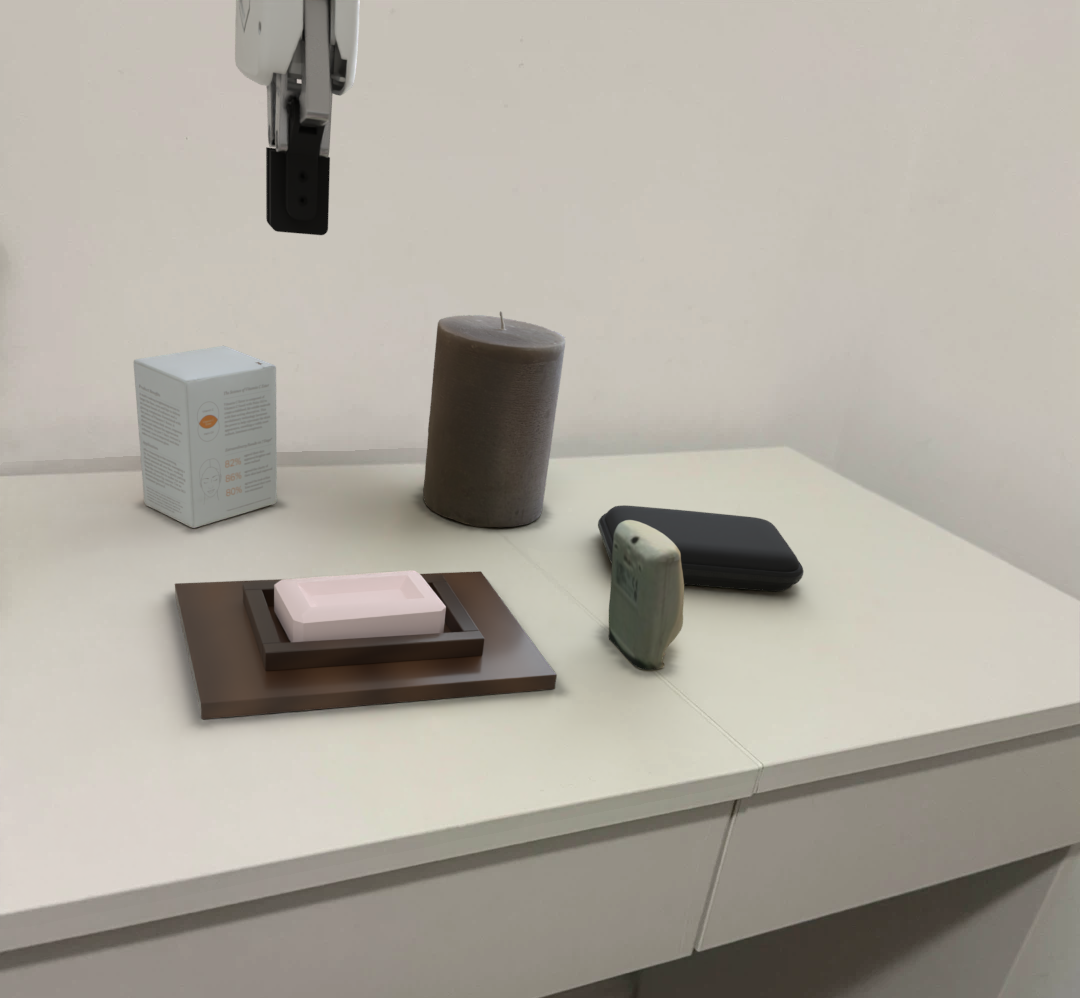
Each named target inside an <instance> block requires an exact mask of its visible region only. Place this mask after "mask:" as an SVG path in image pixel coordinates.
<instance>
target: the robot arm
mask: <svg viewBox="0 0 1080 998" xmlns="http://www.w3.org/2000/svg"><path fill="white" fill-rule="evenodd" d="M360 3H361V0H235V27H234V29H235V30H234V31H235V32H234V33H235V35H234V37H235V38H234V43H235V44H234V62H235V66H236V68H237V70H239V71H240V73H241V74H242V75H243V76H244V77H245V78H247V79H249V80H250V81H252V82H254V83H256V84H258V85H260V86H264V87H265V86H266V108H267V109H266V111H267V113H266V114H267V115H266V117H267V143H268V147H266V148H265V157H266V158H265V163H266V164H265V184H266V185H265V186H266V187H265V195H266V196H265V198H266V199H265V202H266V203H265V205H266V206H265V208H266V209H265V211H266V212H265V213H266V215H265V217H266V218H265V219H266V222H267V224H268V225H269V226H270V227H271V229H272V230H273V231H274V232H277V233H287V234H288V233H289V234H290V233H291V234H300V235H301V234H302V235H312V236H325V235H326V234H327V233H328V231H329V212H330V211H329V209H330V207H329V206H330V170H331V157H330V156H329V155H330V147H331V127H332V126H331V125H332V108H333V95H336V96H343V95H344V94H346V93H348V91H350V90H351V89H352V88H353V87H354V84H355V80H356V72H357V61H358V53H359V52H358V49H359V36H360V35H359V31H360V7H361V6H360V5H361V4H360ZM298 80H299V81H301V82H300V83H299V82H298Z"/></svg>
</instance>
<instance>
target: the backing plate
mask: <svg viewBox="0 0 1080 998" xmlns="http://www.w3.org/2000/svg"><path fill="white" fill-rule="evenodd" d="M419 574H420V575H421V576H422V577H423V578H424V580H425V581H426V582H427V583H428V585H429V586H430V587H431V588H432V590H433V591H434V592H435V594H436V595H437V596H438V597H439V599H440V600H441V601H442V602H443V604H444V605H445V606H446V612H445V622H444V632H443V633H435V634H418V635H402V636H386V637H370V638H354V639H337V640H321V641H305V642H290V640H289V638H288V636H287V634H286V632H285V630H284V629H283V627H282V625H281V623H280V621H279V619H278V617H277V615H276V613H275V611H274V585H275V584H276V583H278V582H279V581H281V580H282V579H283V578H279V579H277V578H275V579H254V580H253V579H252V580H232V581H231V580H229V581H228V580H226V581H202V582H201V581H200V582H179V583H177V582H175V583H174V597H175V602H176V607H177V612H178V616H179V621H180V626H181V630H182V635H183V640H184V644H185V648H186V653H187V658H188V662H189V667H190V673H191V676H192V681H193V687H194V691H195V696H196V700H197V705H198V709H199V714H200V718H201V720H207V719H220V718H233V717H242V716H243V717H244V716H255V715H267V714H279V713H289V712H290V713H291V712H302V711H303V712H304V711H313V710H325V709H336V708H337V709H338V708H346V707H347V708H348V707H358V706H359V707H360V706H371V705H384V704H395V703H407V702H418V701H419V702H420V701H430V700H441V699H452V698H453V699H455V698H464V697H476V696H478V697H479V696H488V695H500V694H501V695H502V694H511V693H523V692H535V691H546V690H547V691H548V690H554V689H555V688H556V682H557V676H558V675H557V673H556V672H555V671H554V669H553V668H552V666H551V665H550V663H549V662H548V661H547V659H546V658H545V657H544V655H543V654H542V653H541V651H540V650H539V649H538V647H537V646H536V644H535V643H534V642H533V640H532V639H531V637H530V636H529V635H528V634H527V632H526V630H524V628H523V627H522V625H521V624H520V622H519V621H518V620H517V618H516V617H515V615H514V614H513V613H512V612H511V610H510V609H509V608H508V606H507V605H506V603H505V602H504V601H503V599H502V598H501V596H500V595H499V594H498V592H497V590H495V588H494V587H493V586H492V584H491V583H490V581H489V580H488V579H487V578H486V576H485V575H484V573H483V572H482V571H458V572H457V571H455V572H454V571H453V572H432V573H430V572H428V573H419Z"/></svg>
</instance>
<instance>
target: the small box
mask: <svg viewBox="0 0 1080 998" xmlns="http://www.w3.org/2000/svg"><path fill="white" fill-rule="evenodd" d="M133 373H134V374H133V375H134V386H135V388H134V390H135V399H136V414H137V425H138V440H139V452H140V465H141V479H142V490H143V491H142V492H143V502H144V505H145V506H146V507H148V508H151V509H153V510H155V511H157V512H160V513H161V514H164V515H165V516H167V517H169V518H171V519H173V520H176V521H178V522H179V523H182V524H183V525H186V526H187V527H190V528H192V529H196V528H199V527H202V526H206V525H209V524H212V523H216V522H218V521H223V520H226V519H230V518H233V517H236V516H240V515H242V514H245V513H250V512H252V511H255V510H259V509H262V508H266V507H268V506H269V507H270V506H272V505H275V504H276V503H277V501H278V485H277V484H278V482H277V481H278V480H277V479H278V475H277V473H278V471H277V469H278V467H277V465H278V463H277V462H278V461H277V460H278V459H277V458H278V457H277V456H278V455H277V365H275V364H273V363H271V362H268V361H265V360H263V359H260V358H257V357H255V356H252V355H251V354H247V353H244V352H242V351H240V350H237V349H234V348H232V347H228V346H226V345H220V346H219V345H218V346H213V347H207V348H200V349H193V350H187V351H179V352H175V353H173V352H172V353H169V354H168V353H167V354H160V355H156V356H148V357H141V358H136V359H134V360H133Z"/></svg>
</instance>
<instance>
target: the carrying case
mask: <svg viewBox="0 0 1080 998" xmlns="http://www.w3.org/2000/svg"><path fill="white" fill-rule="evenodd" d="M625 520H634V521H638V522H641V523H643V524H646V525H648V526H650V527H652V528H654V529H656V530H658V531H659V532H661V533H663V534H664V535H665V536H667V537H668V538H669V539H670V540H671V541H672V542H673V543H674V544H675V545H676V546H677V548H678V549H679V551H680V554H681V565H682V572H683V580H684V585H688V586H698V587H699V586H700V587H711V588H724V589H738V590H750V591H762V592H763V591H764V592H782V591H786V590H788V589H790V588H791V587H792V586H794V585H796V584H798V583H799V582H800V581H801V580H802V578H803V576H804V567H803V565H802V563H801V562H800V560H799V559H798V557H797V555H796V554H795V553H794V551H793V550H792V548H791V547H790V546H789V543H787V541H786V540H785V539H784V536H783V535H782V534H781V533H780V531H779V530H778V528H777V527H776V526H775V525H774V524H773V522H770V521H769V520H766V519H764V518H760V517H756V516H755V517H754V516H747V515H745V516H744V515H736V514H725V513H715V512H705V511H694V510H683V509H671V508H663V507H651V506H648V507H647V506H638V505H615V506H613V507H611V508H610V509H609V510H607V512H605V513H604V514H602V515H601V516H600V518H598V522H597V528H598V530H599V533H600V537H601V540H602V542H603V545H604V548H605V551H606V554H607V557H608V560H609V561H610V563H611V564H612V552H613V540H614V532H615V529H616V527H617V526H618V524H619V523H621V522H623V521H625Z"/></svg>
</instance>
